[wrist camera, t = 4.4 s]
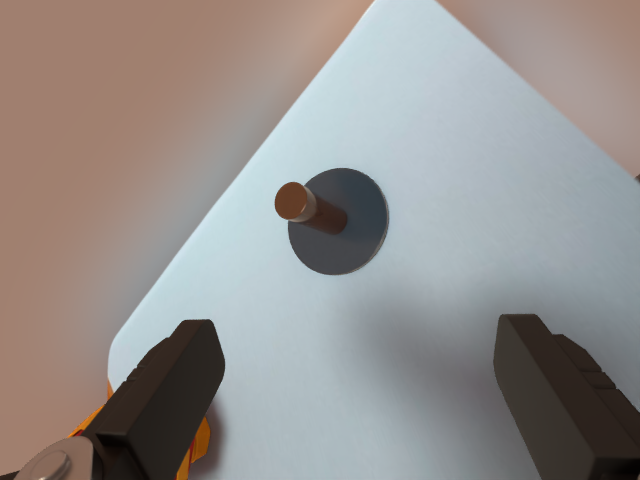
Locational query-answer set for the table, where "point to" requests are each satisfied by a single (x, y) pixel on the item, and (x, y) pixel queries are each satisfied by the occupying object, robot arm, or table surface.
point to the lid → (334, 220)
